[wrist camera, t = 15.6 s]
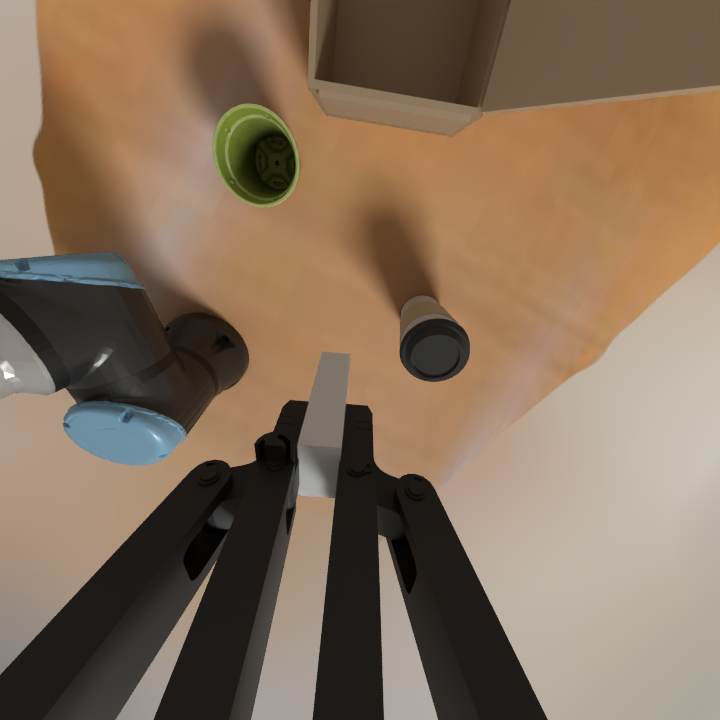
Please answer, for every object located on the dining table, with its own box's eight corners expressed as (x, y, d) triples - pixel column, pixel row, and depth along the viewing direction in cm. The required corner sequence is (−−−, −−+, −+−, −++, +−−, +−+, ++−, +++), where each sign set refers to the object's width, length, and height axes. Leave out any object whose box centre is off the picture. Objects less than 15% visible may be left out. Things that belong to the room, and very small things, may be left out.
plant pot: (313, 206, 42) (300, 210, 35) (247, 201, 42) (220, 203, 35) (312, 123, 37) (297, 107, 30) (238, 117, 37) (204, 99, 30)
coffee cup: (421, 276, 46) (439, 311, 33) (460, 311, 49) (491, 356, 36) (383, 318, 50) (386, 363, 37) (421, 348, 53) (436, 401, 40)
